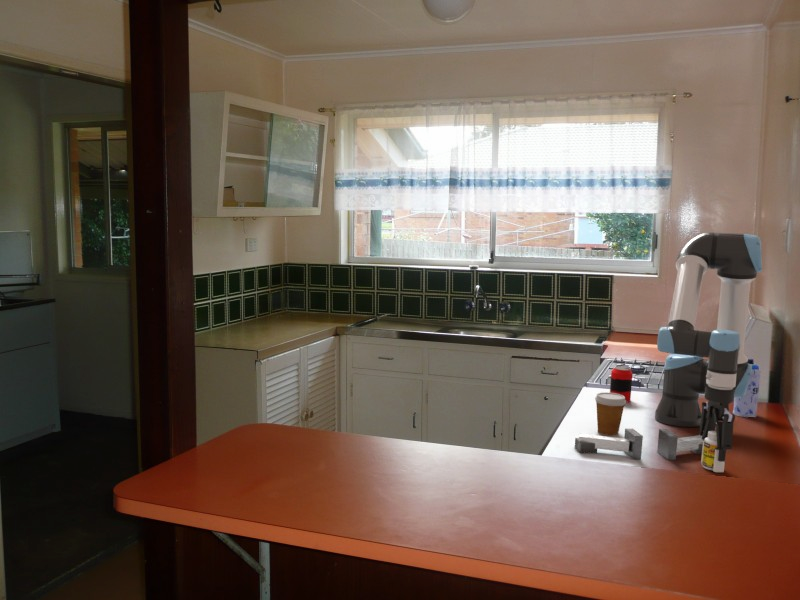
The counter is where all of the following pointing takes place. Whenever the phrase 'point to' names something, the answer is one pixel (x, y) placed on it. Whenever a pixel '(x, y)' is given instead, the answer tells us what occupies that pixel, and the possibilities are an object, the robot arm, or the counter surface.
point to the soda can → (621, 382)
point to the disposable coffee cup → (609, 412)
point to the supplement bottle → (709, 450)
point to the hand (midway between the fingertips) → (712, 467)
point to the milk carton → (749, 395)
